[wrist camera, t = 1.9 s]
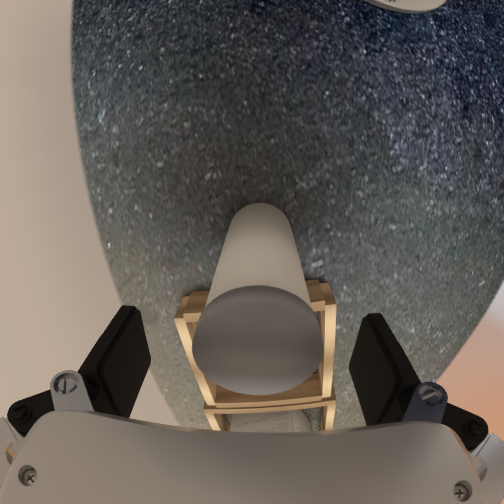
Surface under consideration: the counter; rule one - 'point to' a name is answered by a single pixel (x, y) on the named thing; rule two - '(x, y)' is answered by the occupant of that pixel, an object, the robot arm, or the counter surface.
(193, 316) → the oak rack
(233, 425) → the supplement box
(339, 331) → the counter surface
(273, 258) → the frosted tube
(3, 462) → the robot arm
